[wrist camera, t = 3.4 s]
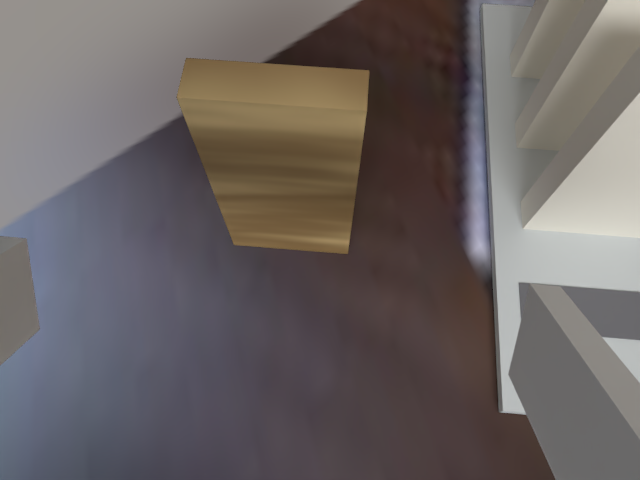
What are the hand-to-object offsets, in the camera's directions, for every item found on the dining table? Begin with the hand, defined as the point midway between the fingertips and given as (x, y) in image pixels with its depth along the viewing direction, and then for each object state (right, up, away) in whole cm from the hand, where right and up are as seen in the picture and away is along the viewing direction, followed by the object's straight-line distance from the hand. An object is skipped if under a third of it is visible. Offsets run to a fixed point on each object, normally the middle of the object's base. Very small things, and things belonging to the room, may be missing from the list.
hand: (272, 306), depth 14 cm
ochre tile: (0, +2, +14) cm, 14 cm away
